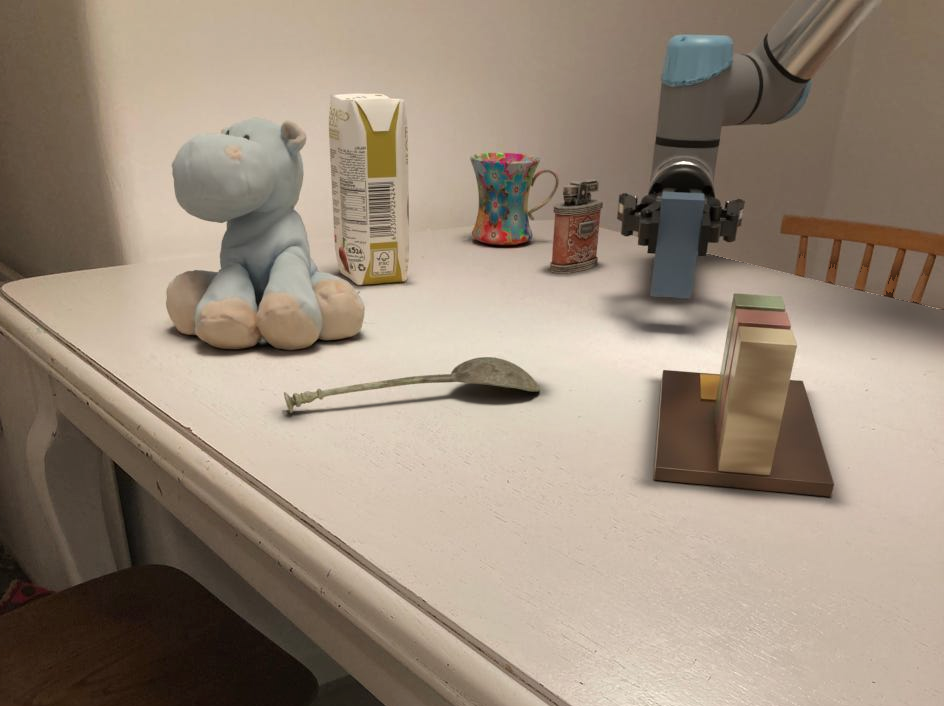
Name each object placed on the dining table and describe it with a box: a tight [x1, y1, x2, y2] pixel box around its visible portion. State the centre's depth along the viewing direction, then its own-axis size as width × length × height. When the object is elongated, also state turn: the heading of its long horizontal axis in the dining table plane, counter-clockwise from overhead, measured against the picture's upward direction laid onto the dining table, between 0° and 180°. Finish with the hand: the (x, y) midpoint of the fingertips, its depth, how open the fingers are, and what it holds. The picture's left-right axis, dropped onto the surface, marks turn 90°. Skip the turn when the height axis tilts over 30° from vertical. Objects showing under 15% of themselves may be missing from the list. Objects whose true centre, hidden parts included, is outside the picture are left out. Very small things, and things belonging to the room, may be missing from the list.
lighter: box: [549, 178, 604, 274], centre depth 119 cm, size 8×3×10 cm, turn 137°
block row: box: [653, 293, 835, 498], centre depth 73 cm, size 12×22×10 cm, turn 169°
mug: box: [469, 152, 560, 246], centre depth 131 cm, size 12×9×11 cm
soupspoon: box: [283, 356, 541, 414], centre depth 80 cm, size 22×3×7 cm
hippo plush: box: [165, 116, 366, 351], centre depth 92 cm, size 18×23×18 cm
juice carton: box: [328, 93, 410, 286], centre depth 110 cm, size 8×9×19 cm
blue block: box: [649, 192, 705, 299], centre depth 95 cm, size 4×4×9 cm
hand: (678, 239), depth 90 cm, fingers closed on blue block, 4 cm apart
